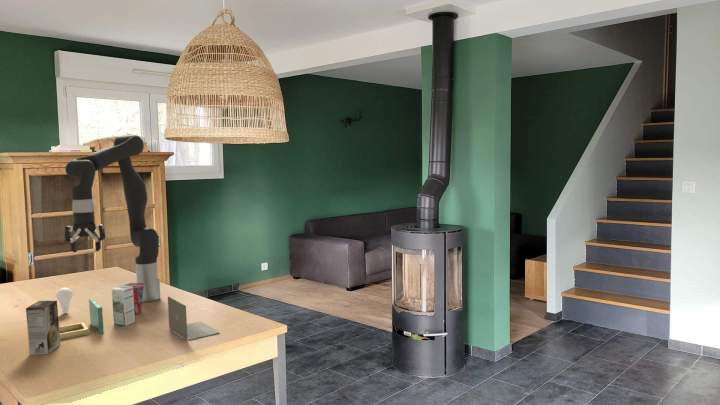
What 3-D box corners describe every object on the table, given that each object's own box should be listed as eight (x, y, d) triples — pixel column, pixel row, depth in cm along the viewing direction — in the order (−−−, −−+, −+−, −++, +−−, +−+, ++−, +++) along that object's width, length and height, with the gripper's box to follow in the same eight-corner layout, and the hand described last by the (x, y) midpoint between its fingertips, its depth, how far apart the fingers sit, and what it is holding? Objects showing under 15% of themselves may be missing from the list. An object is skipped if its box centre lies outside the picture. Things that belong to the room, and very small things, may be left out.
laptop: (220, 334, 200) (218, 299, 199) (186, 342, 192) (184, 305, 191) (200, 323, 214) (199, 290, 213) (168, 330, 206) (167, 296, 205)
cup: (150, 311, 232) (148, 283, 230) (134, 316, 224) (132, 288, 223) (134, 309, 235) (132, 281, 234) (118, 314, 228) (116, 286, 227)
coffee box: (41, 345, 191) (38, 300, 190) (61, 344, 191) (57, 299, 190) (28, 355, 182) (24, 307, 181) (48, 354, 182) (45, 307, 181)
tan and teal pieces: (94, 323, 216) (93, 298, 215) (103, 333, 203) (102, 307, 202) (51, 331, 207) (49, 305, 206) (58, 342, 194) (56, 314, 193)
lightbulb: (66, 315, 228) (64, 289, 227) (54, 315, 229) (52, 289, 228) (77, 311, 234) (75, 286, 233) (64, 311, 235) (62, 286, 234)
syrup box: (135, 321, 217) (133, 285, 216) (124, 326, 211) (122, 289, 210) (124, 320, 219) (122, 285, 218) (113, 325, 213) (110, 288, 212)
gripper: (105, 209, 219) (108, 249, 221) (68, 210, 218) (71, 250, 219) (99, 211, 212) (101, 252, 213) (60, 212, 210) (63, 254, 212)
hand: (86, 251), depth 216 cm, fingers open, 8 cm apart
